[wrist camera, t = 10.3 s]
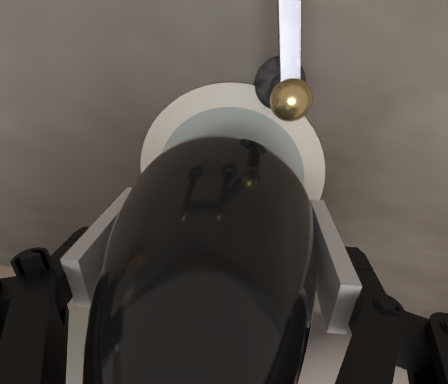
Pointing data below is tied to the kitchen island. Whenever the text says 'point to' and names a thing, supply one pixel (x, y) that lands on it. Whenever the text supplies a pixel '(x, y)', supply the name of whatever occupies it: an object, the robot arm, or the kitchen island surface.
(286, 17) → the metal corner railing
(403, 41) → the kitchen island surface
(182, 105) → the coaster
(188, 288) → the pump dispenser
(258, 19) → the kitchen island surface
